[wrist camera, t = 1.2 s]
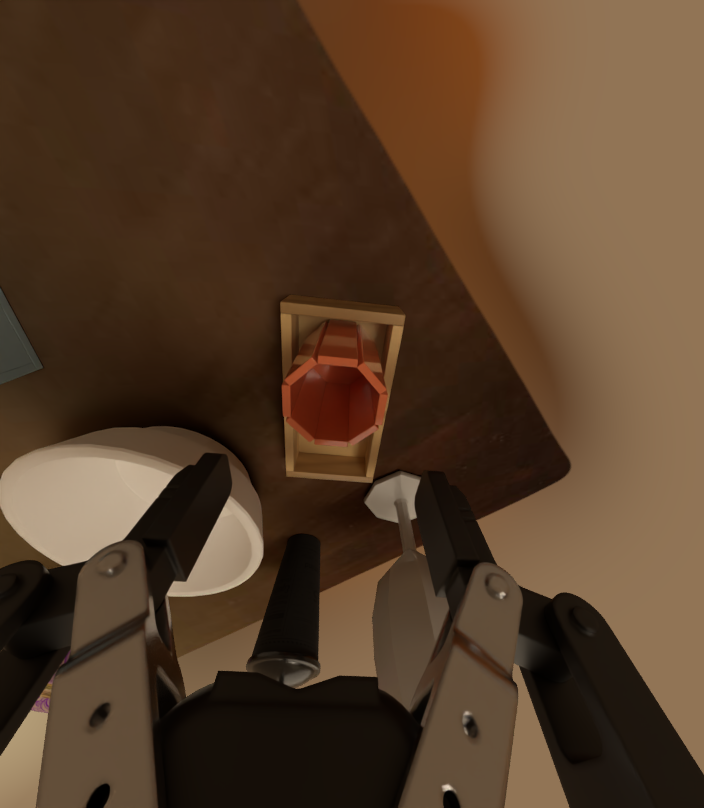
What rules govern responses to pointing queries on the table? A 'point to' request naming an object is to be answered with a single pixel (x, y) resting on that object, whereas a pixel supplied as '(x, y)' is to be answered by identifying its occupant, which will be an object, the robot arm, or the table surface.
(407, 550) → the wineglass
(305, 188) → the table surface
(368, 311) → the rack
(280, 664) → the drinking cup
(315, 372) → the cup
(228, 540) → the bowl
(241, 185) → the table surface
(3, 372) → the open box
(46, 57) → the table surface
